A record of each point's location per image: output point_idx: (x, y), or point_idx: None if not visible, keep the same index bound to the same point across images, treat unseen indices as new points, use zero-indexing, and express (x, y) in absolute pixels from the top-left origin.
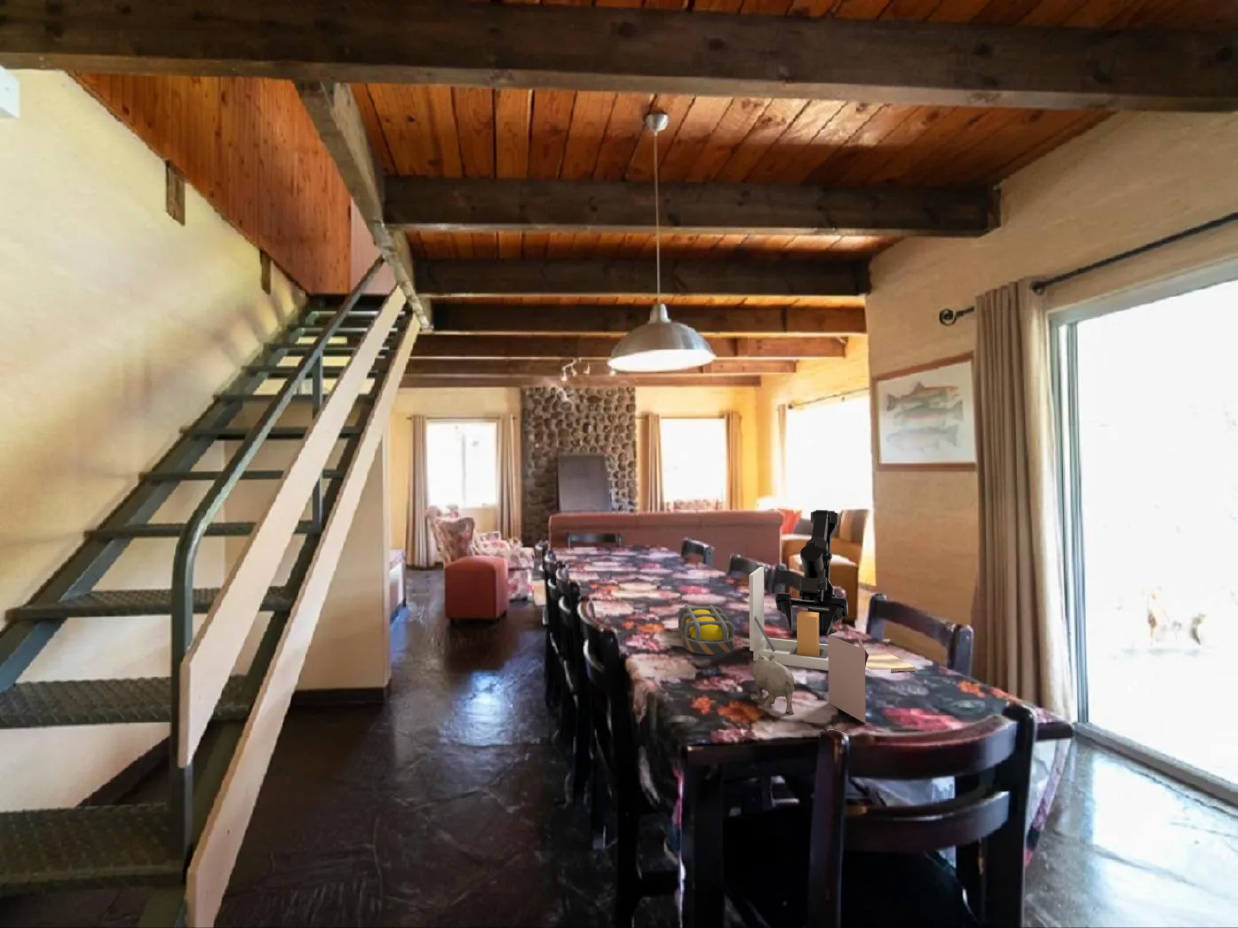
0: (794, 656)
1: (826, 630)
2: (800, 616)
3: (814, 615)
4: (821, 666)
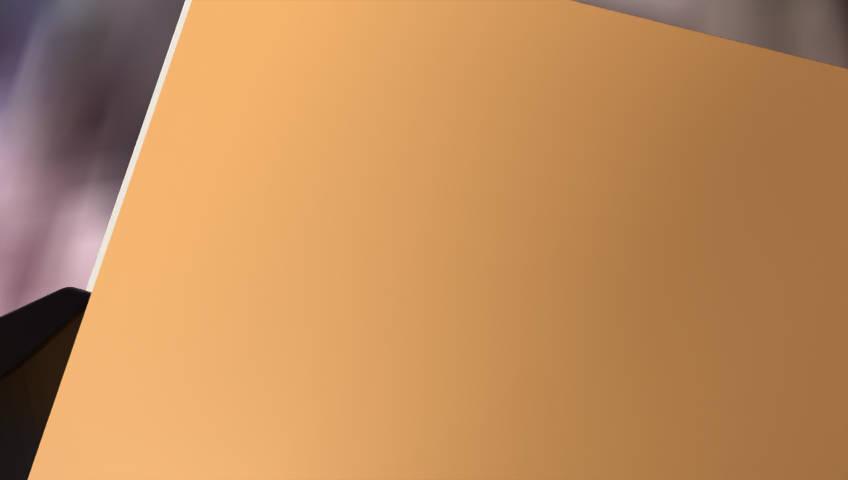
0: None
1: (63, 304)
2: (838, 82)
3: (263, 150)
4: None
